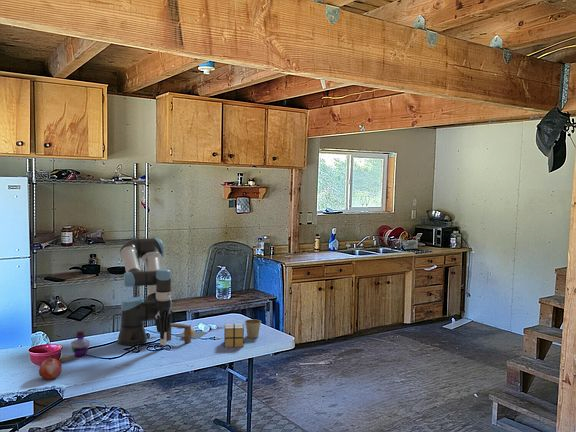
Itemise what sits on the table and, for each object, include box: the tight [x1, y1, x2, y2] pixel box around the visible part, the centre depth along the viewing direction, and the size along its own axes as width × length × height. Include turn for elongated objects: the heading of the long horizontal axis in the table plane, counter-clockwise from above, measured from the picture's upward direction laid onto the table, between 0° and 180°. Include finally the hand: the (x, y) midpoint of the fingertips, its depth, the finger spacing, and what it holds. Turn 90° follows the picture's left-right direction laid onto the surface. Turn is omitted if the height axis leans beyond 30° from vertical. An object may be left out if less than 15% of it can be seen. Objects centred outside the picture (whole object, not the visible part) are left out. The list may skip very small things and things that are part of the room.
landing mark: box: [176, 330, 208, 340], centre depth 288 cm, size 13×13×1 cm
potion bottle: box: [70, 330, 91, 358], centre depth 249 cm, size 9×9×12 cm
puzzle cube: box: [223, 323, 245, 348], centre depth 271 cm, size 10×10×10 cm
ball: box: [183, 327, 195, 336], centre depth 283 cm, size 6×6×6 cm
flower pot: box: [244, 318, 262, 339], centre depth 285 cm, size 9×9×9 cm
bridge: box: [166, 322, 192, 345], centre depth 274 cm, size 3×14×9 cm, turn 68°
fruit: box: [38, 355, 63, 381], centre depth 220 cm, size 9×10×10 cm
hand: (163, 344), depth 262 cm, fingers closed
